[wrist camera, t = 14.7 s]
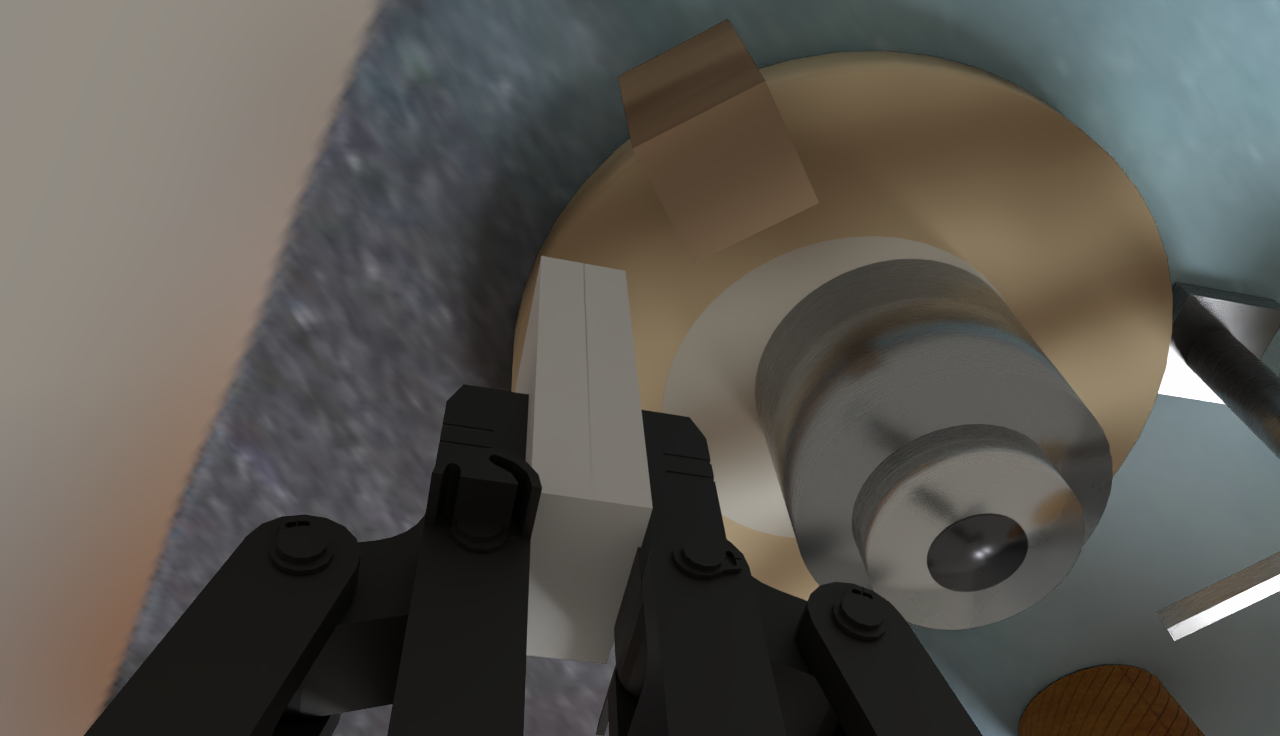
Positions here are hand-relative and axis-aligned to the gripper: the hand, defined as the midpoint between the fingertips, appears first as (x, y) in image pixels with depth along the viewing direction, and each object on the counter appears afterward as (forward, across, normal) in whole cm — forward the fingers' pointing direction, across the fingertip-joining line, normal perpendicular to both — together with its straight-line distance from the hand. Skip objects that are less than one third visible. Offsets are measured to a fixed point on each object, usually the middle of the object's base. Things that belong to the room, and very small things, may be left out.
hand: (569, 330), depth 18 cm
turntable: (+11, +9, -5) cm, 15 cm away
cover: (+10, +11, -5) cm, 15 cm away
